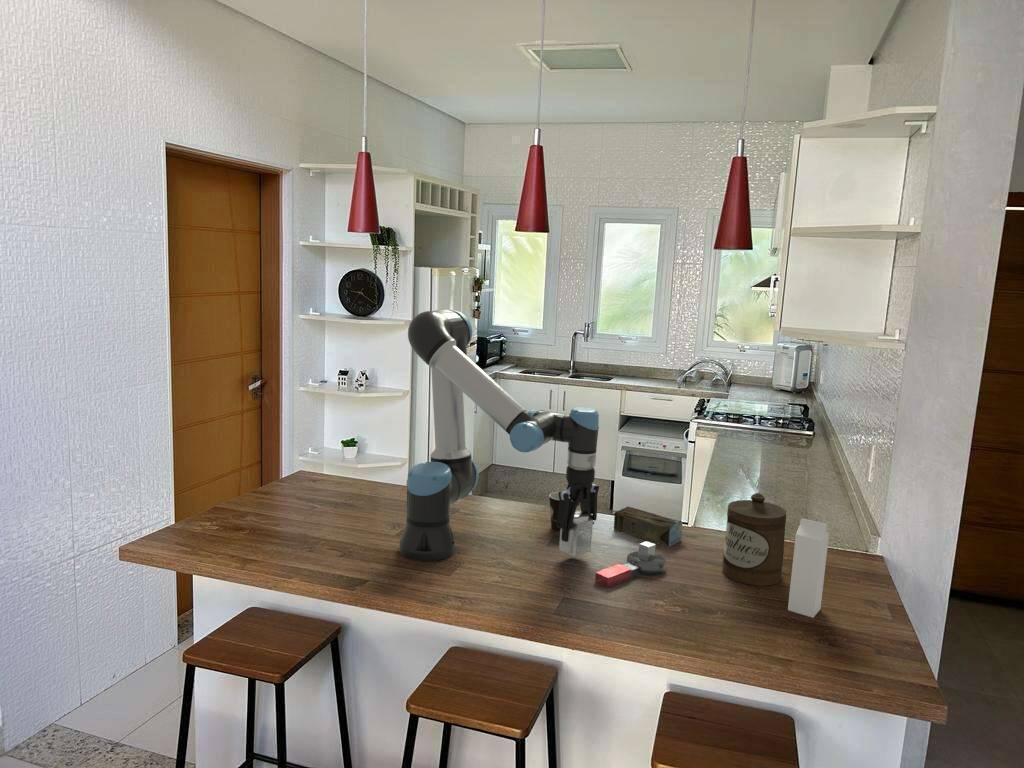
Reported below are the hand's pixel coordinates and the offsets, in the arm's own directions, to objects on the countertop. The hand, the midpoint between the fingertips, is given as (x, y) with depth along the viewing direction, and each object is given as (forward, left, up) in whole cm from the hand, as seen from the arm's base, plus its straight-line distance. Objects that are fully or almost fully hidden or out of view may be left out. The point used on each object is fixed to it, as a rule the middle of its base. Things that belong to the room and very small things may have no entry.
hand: (574, 549), depth 204 cm
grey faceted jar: (0, 0, 0) cm, 0 cm away
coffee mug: (+16, +20, -3) cm, 26 cm away
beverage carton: (+31, -1, -3) cm, 31 cm away
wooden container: (+30, -35, -3) cm, 47 cm away
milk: (+21, -54, -3) cm, 58 cm away
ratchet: (+5, -15, -3) cm, 16 cm away
